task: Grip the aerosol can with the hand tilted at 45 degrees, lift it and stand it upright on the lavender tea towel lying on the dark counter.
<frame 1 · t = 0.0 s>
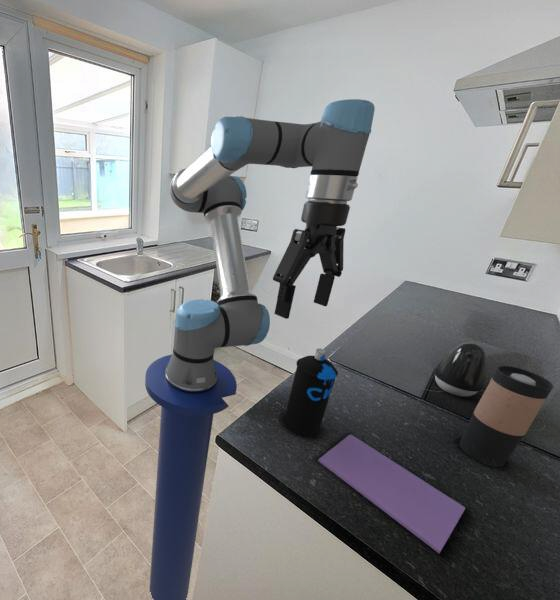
hand: (301, 309, 64), 29 cm above the counter, tool pointing down, fingers open, 13 cm apart
travel mug: (480, 453, 68), on the counter
black egg-shaped dome: (452, 391, 89), on the counter
towel: (386, 483, 59), on the counter
aerosol can: (301, 425, 73), on the counter
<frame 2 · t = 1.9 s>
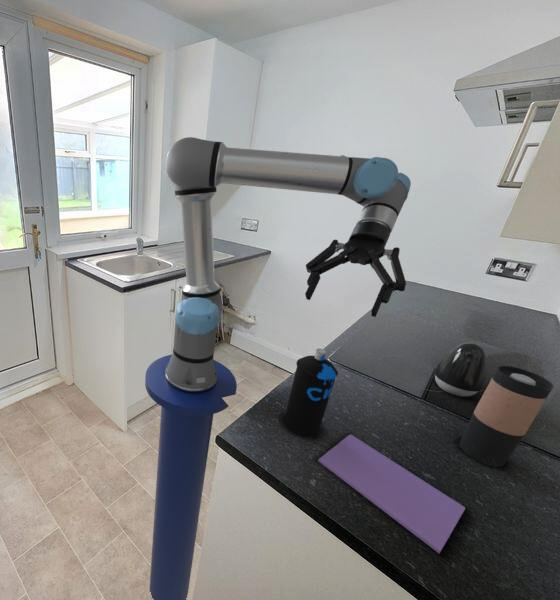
hand: (338, 305, 70), 28 cm above the counter, tool tilted 45°, fingers open, 13 cm apart
nothing on the counter moved.
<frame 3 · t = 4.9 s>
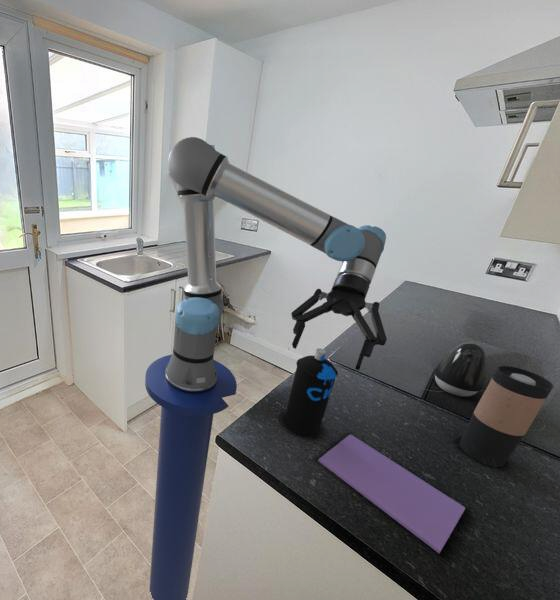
hand: (324, 356, 72), 16 cm above the counter, tool tilted 45°, fingers open, 13 cm apart
nothing on the counter moved.
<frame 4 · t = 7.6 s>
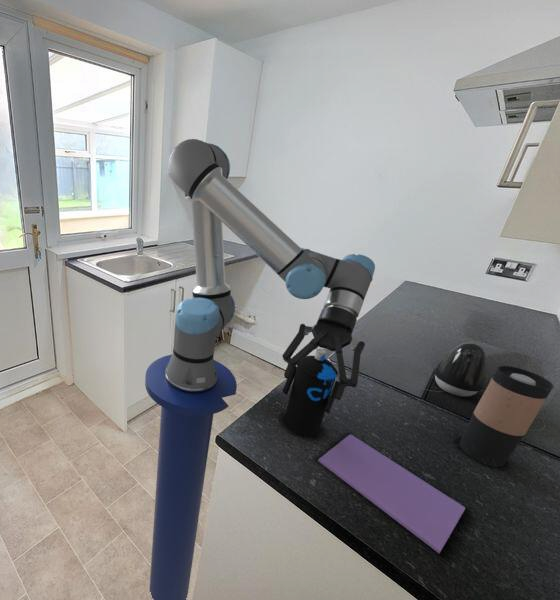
hand: (305, 401, 68), 9 cm above the counter, tool tilted 45°, fingers closed on aerosol can, 8 cm apart
aerosol can: (301, 425, 73), on the counter, touching gripper
everything else where it was.
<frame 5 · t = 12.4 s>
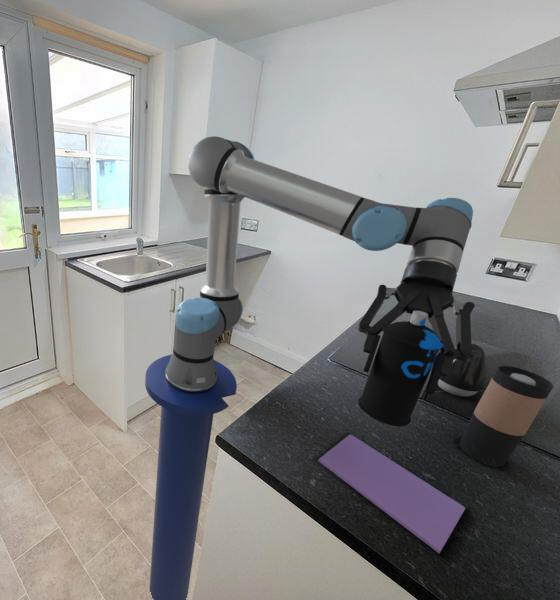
hand: (397, 379, 52), 23 cm above the counter, tool tilted 45°, fingers closed on aerosol can, 8 cm apart
aerosol can: (382, 411, 58), point 14 cm above the counter, touching gripper
everything else where it was.
when the fingers open (9 cm above the counter, at t = 17.1 s): aerosol can stays where it is, resting on towel.
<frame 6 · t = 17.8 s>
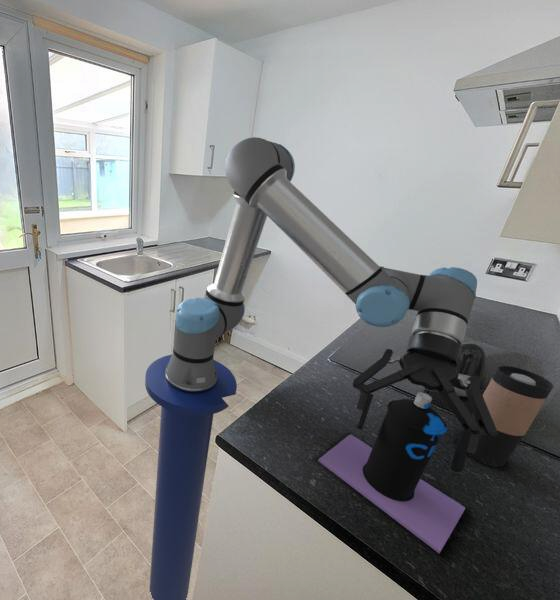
hand: (404, 447, 54), 11 cm above the counter, tool tilted 45°, fingers open, 13 cm apart
aerosol can: (386, 482, 59), resting on towel
everything else where it was.
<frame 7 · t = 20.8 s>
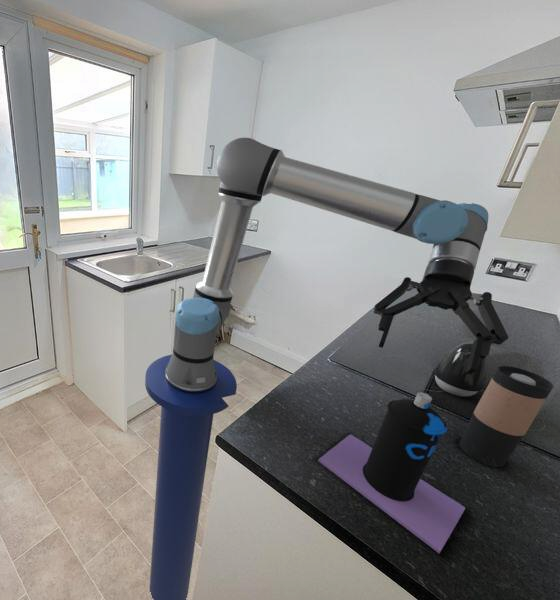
hand: (423, 357, 60), 23 cm above the counter, tool tilted 45°, fingers open, 13 cm apart
nothing on the counter moved.
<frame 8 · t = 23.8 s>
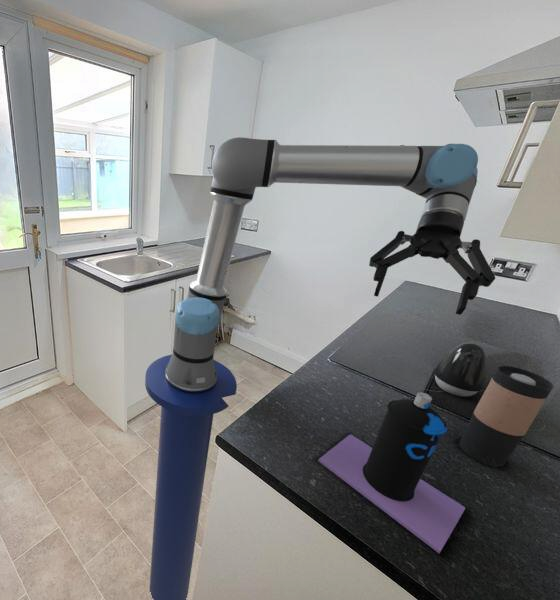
hand: (415, 301, 63), 32 cm above the counter, tool tilted 45°, fingers open, 13 cm apart
nothing on the counter moved.
at the end: aerosol can inside the target area on the towel (0.1 cm from its centre), point 0.4 cm above the towel's base; aerosol can tilted 0°; the gripper is holding nothing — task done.
